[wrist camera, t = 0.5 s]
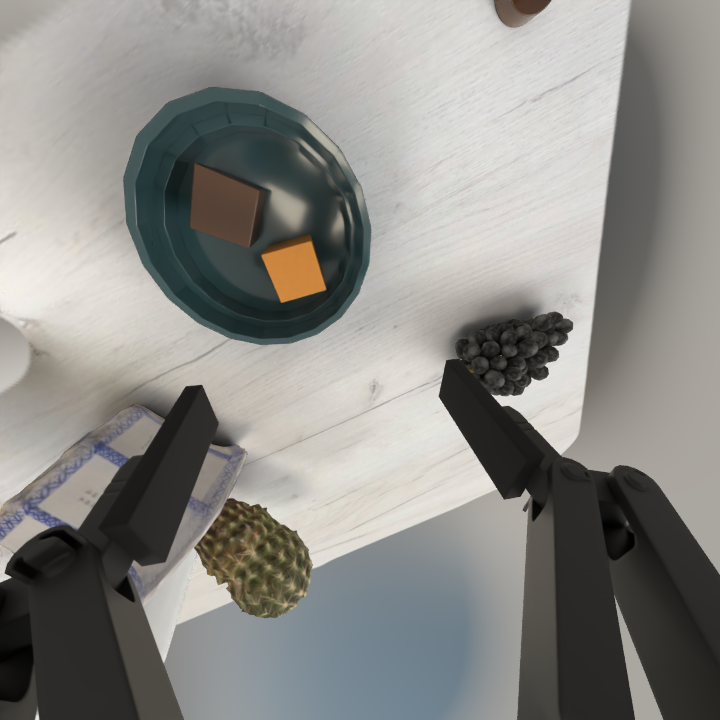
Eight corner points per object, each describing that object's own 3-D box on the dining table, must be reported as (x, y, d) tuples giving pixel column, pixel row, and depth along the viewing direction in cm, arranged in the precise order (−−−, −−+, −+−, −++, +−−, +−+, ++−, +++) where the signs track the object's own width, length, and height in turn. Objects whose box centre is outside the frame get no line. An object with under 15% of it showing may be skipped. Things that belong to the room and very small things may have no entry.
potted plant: (-110, 603, 19) (227, 721, 28) (2, 464, 15) (351, 649, 24) (101, 446, 35) (272, 550, 44) (180, 360, 32) (349, 492, 40)
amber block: (267, 246, 23) (260, 255, 20) (310, 234, 23) (311, 240, 20) (284, 288, 25) (281, 303, 22) (323, 277, 26) (326, 290, 22)
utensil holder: (78, 545, 42) (-43, 732, 27) (145, 506, 40) (53, 687, 25) (162, 568, 50) (102, 723, 35) (221, 536, 48) (184, 687, 33)
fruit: (632, 331, 25) (484, 390, 25) (592, 376, 31) (475, 422, 32) (563, 281, 30) (441, 330, 30) (541, 328, 37) (441, 368, 37)
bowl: (127, 103, 18) (65, 72, 13) (361, 122, 20) (377, 102, 16) (198, 322, 26) (176, 349, 22) (356, 316, 29) (365, 339, 24)
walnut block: (212, 167, 20) (193, 161, 16) (266, 190, 21) (259, 190, 18) (206, 222, 22) (188, 227, 18) (257, 241, 23) (249, 249, 20)
